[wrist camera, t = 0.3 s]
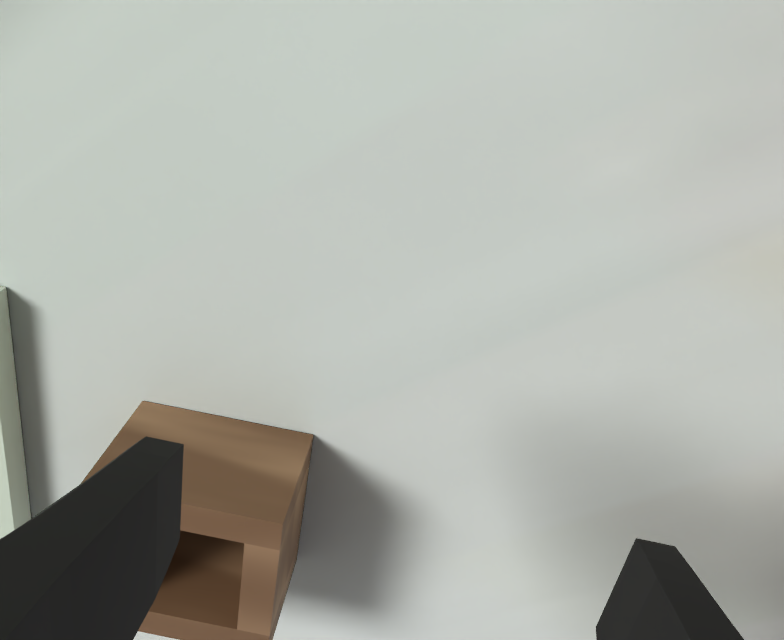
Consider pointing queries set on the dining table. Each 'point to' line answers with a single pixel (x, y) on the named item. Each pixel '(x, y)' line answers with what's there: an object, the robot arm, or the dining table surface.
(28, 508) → the board
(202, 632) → the collar
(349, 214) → the dining table surface
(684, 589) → the robot arm
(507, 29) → the dining table surface
